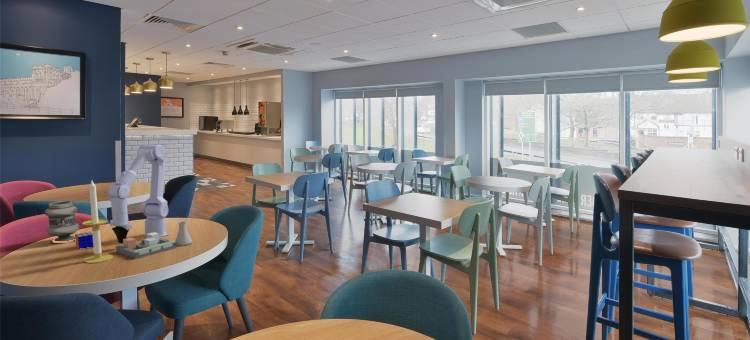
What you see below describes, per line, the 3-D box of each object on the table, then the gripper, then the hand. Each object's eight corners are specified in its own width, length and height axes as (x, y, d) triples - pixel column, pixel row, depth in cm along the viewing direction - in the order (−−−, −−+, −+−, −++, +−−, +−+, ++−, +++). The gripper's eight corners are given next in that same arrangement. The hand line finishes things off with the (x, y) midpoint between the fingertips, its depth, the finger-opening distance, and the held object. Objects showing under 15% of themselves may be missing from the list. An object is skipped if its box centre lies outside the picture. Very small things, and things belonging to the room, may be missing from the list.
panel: (116, 251, 172) (115, 244, 172) (156, 241, 186) (155, 234, 186) (135, 258, 163) (135, 251, 163) (175, 247, 178) (175, 240, 177)
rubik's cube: (76, 246, 178) (74, 234, 177) (91, 243, 182) (90, 231, 182) (79, 249, 174) (78, 236, 174) (94, 246, 178) (93, 234, 178)
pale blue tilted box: (144, 248, 172) (144, 239, 172) (152, 246, 175) (151, 237, 174) (149, 250, 170) (149, 241, 170) (157, 248, 173) (156, 239, 172)
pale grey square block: (147, 242, 180) (147, 233, 180) (154, 240, 183) (154, 232, 183) (152, 244, 178) (151, 235, 178) (159, 242, 181) (159, 233, 180)
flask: (185, 246, 179) (184, 224, 178) (171, 245, 181) (169, 223, 180) (195, 241, 186) (194, 220, 185) (181, 240, 188) (180, 219, 187)
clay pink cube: (123, 248, 172) (123, 239, 172) (131, 246, 175) (131, 237, 174) (128, 250, 170) (127, 240, 170) (136, 248, 173) (135, 239, 172)
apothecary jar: (41, 242, 183) (37, 203, 181) (70, 235, 194) (66, 198, 192) (58, 246, 178) (54, 206, 176) (86, 238, 189) (83, 201, 187)
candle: (90, 265, 156) (83, 182, 152) (78, 260, 161) (71, 179, 157) (117, 257, 165) (112, 178, 160) (105, 253, 170) (99, 176, 166)
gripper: (101, 211, 175) (104, 242, 177) (118, 216, 167) (120, 248, 169) (119, 208, 181) (121, 238, 182) (135, 213, 173) (137, 244, 175)
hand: (122, 242), depth 176 cm, fingers closed
